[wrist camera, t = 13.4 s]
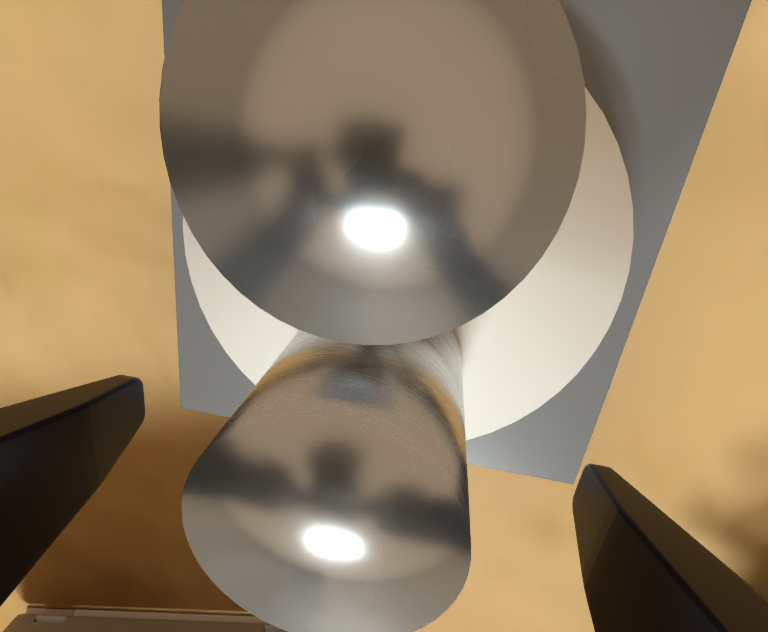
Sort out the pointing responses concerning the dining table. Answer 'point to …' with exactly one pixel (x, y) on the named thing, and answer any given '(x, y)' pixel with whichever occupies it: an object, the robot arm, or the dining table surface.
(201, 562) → the cylinder
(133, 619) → the laptop
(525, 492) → the dining table surface
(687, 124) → the base
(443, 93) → the cylinder
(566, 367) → the pan
